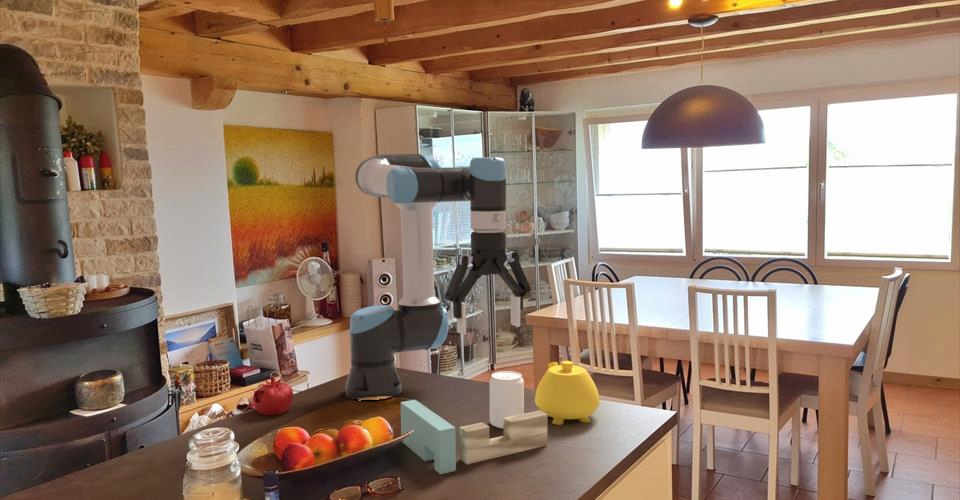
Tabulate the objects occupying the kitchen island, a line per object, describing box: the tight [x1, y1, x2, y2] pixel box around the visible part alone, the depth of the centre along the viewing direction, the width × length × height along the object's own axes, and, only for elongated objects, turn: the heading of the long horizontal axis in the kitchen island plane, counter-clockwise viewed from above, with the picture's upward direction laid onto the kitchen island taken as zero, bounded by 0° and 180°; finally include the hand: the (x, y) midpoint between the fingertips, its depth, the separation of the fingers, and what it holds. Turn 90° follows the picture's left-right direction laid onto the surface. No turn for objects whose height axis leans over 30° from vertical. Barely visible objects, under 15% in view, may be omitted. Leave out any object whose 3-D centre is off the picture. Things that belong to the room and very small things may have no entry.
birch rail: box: [459, 409, 548, 465], centre depth 148 cm, size 3×20×7 cm, turn 119°
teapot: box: [534, 360, 600, 426], centre depth 171 cm, size 20×16×14 cm
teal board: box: [400, 399, 457, 475], centre depth 147 cm, size 20×4×9 cm, turn 29°
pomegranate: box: [252, 375, 295, 416], centre depth 176 cm, size 10×10×9 cm
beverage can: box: [488, 370, 525, 429], centre depth 164 cm, size 8×8×12 cm
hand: (489, 329), depth 149 cm, fingers open, 13 cm apart
